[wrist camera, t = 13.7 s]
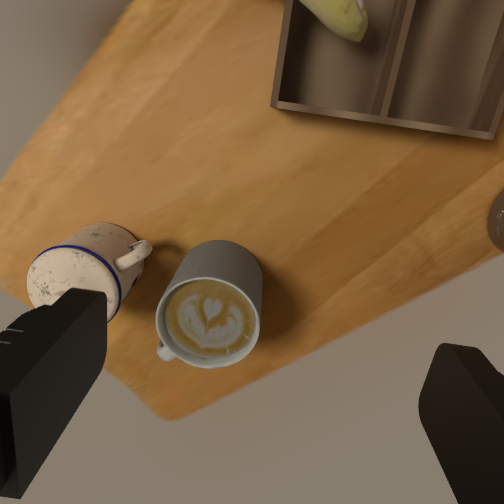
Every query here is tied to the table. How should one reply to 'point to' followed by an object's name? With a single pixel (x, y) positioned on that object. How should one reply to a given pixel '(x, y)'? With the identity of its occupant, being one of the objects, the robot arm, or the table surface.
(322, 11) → the fruit
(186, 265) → the coffee mug
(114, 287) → the teacup with lid
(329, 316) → the table surface
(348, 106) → the walnut crate
